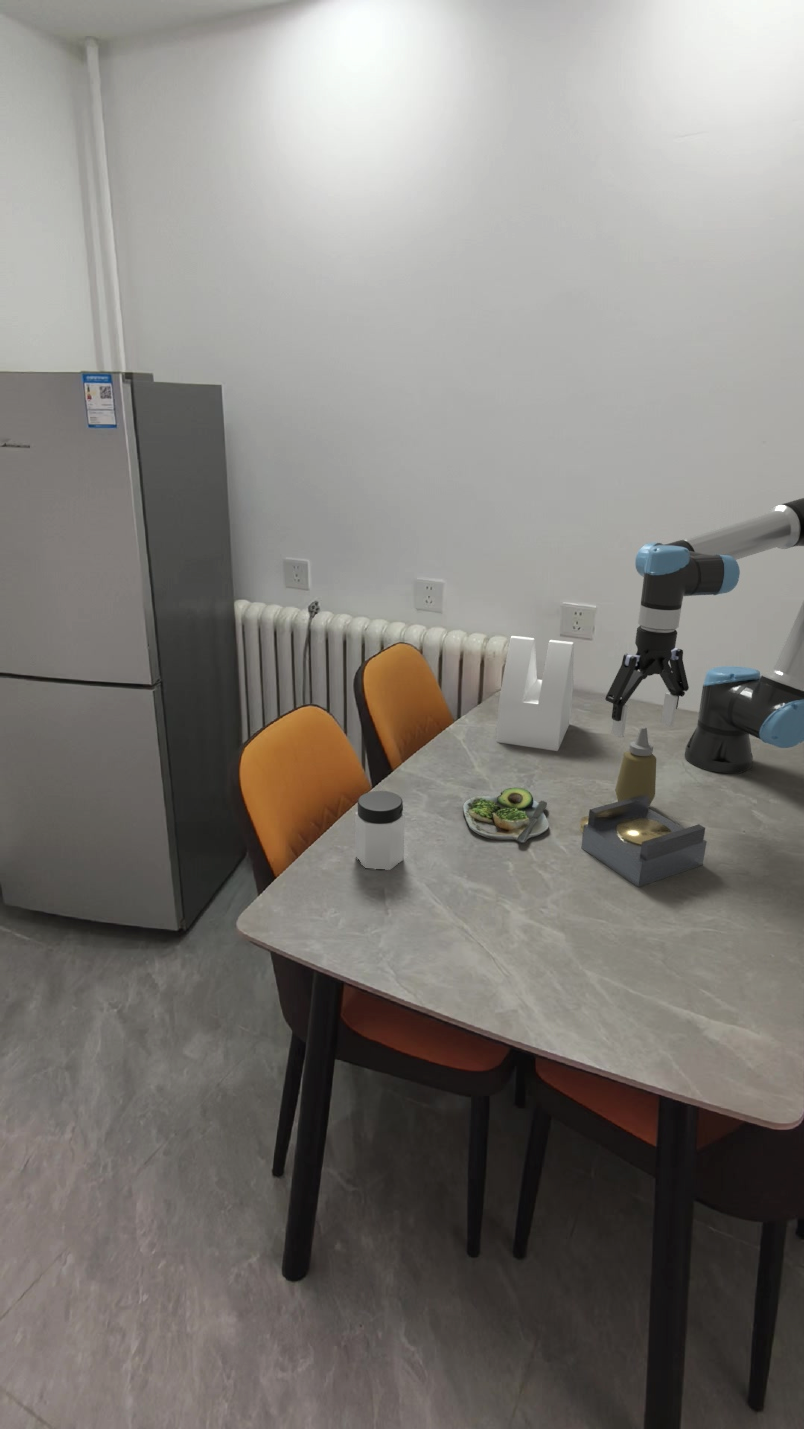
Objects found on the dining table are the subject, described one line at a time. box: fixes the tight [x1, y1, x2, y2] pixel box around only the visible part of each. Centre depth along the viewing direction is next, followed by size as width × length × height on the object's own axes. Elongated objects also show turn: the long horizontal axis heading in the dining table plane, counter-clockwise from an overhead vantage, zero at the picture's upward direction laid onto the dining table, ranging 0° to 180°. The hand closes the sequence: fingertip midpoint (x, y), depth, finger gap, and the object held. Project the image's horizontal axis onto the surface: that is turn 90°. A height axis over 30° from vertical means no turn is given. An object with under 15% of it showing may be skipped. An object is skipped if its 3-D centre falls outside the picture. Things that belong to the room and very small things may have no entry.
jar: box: [354, 790, 406, 871], centre depth 144 cm, size 9×8×12 cm
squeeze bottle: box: [615, 726, 657, 807], centre depth 164 cm, size 8×8×18 cm
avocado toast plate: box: [462, 787, 550, 844], centre depth 159 cm, size 19×18×5 cm
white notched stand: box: [495, 635, 575, 752], centre depth 201 cm, size 19×15×25 cm
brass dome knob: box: [579, 815, 589, 835], centre depth 157 cm, size 6×6×2 cm
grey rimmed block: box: [580, 794, 707, 888], centre depth 147 cm, size 16×15×8 cm
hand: (642, 729), depth 161 cm, fingers open, 13 cm apart
